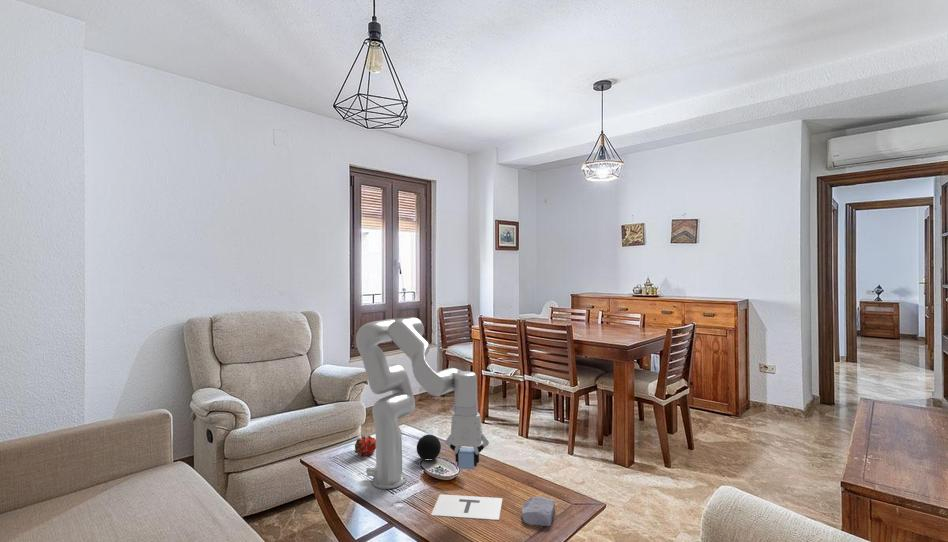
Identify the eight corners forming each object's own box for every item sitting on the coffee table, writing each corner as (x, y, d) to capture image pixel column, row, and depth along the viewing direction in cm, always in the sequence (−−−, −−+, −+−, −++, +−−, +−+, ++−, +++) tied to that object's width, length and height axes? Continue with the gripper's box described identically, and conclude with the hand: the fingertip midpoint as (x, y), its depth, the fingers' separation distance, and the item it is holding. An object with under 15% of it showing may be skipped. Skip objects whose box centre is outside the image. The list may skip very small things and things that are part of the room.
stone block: (521, 529, 139) (553, 527, 137) (518, 513, 140) (550, 511, 137) (527, 510, 151) (557, 508, 148) (524, 496, 151) (554, 494, 149)
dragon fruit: (353, 463, 187) (373, 457, 197) (366, 454, 184) (386, 448, 194) (346, 444, 190) (366, 438, 200) (359, 435, 187) (379, 430, 198)
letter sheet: (430, 515, 145) (430, 514, 145) (439, 494, 157) (439, 494, 157) (498, 520, 141) (498, 519, 141) (502, 498, 154) (502, 498, 154)
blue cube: (458, 468, 147) (458, 453, 147) (461, 461, 152) (461, 447, 152) (473, 469, 146) (473, 453, 146) (475, 462, 151) (475, 447, 151)
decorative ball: (442, 463, 182) (441, 439, 182) (417, 465, 181) (416, 441, 180) (440, 453, 192) (439, 430, 192) (416, 455, 190) (416, 431, 190)
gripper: (438, 412, 146) (439, 468, 147) (490, 414, 144) (491, 470, 144) (443, 405, 154) (444, 458, 154) (493, 407, 151) (494, 460, 152)
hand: (467, 463), depth 149 cm, fingers closed on blue cube, 5 cm apart
